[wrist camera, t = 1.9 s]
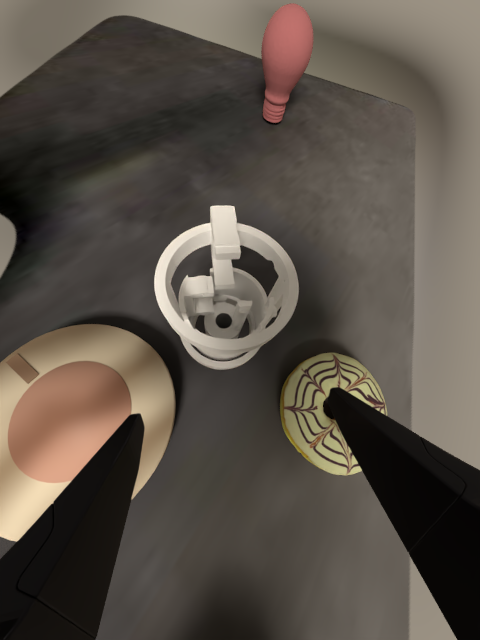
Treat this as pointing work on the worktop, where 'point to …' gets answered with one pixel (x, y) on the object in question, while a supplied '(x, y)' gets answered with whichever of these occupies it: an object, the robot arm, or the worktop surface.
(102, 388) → the turntable
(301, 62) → the light bulb
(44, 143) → the worktop surface
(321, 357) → the decorated donut
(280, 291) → the strainer
